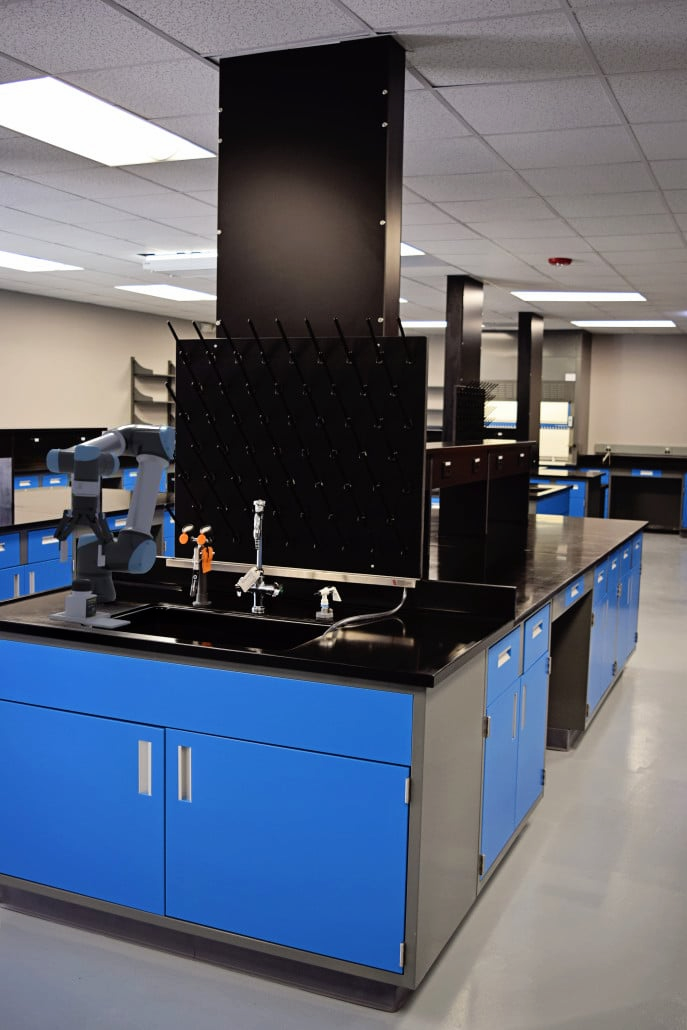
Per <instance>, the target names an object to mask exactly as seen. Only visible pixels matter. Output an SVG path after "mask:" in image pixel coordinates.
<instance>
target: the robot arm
mask: <svg viewBox="0 0 687 1030" xmlns="http://www.w3.org/2000/svg"><path fill="white" fill-rule="evenodd" d="M175 432H176V430H175V429H174V428H173V427H172V426H169V425H163V424H159V425H158V424H140V423H130V424H125V425H121V426H118V427H114V428H112V429H109V430H106V431H105V432H104V433H102V435H101V436H99V437H96V438H92V439H89V440H87V441H85V442H83V443H79V444H76V445H73V446H71V447H69V448H66V449H61V448H58V449H54V448H52V449H51V450H49V452H48V453H47V455H46V466H47V469H48V470H49V472H51V473H59V474H67V475H68V474H69V475H70V474H71V475H72V474H73V483H72V494H74V495H73V496H72V502H71V506H72V509H69V508H68V509H65V508H64V509H63V513H62V517H61V519H60V521H59V523H58V525H57V528H56V529H55V532H54V533H53V536H52V537H53V538H54V539H57V540H58V551H59V552H60V556H59V563H66V562H68V557H69V556H68V555H69V540H68V538H69V536H70V535H71V534H72V533H73V532H74V531H75V529H76V528H77V527H78V526H86V527H89V528H90V529H91V531H92V532H93V533H85V534H81V535H80V536H79V538H78V543H77V548H76V549H77V556H76V557H77V558H76V559H77V561H76V578H75V580H76V579H86V580H90V581H91V582H92V593H91V594H93V595H97V604H98V603H99V604H100V603H111V602H114V601H116V600H115V599H116V595H117V594H116V590H115V586H114V583H113V579H112V572H119V573H120V572H121V573H128V574H129V573H130V574H145V573H147V572H148V571H150V570H151V568H152V567H153V565H154V564H155V562H156V558H157V553H158V551H157V544H156V542H155V541H154V536H153V535H152V534H151V529H152V523H153V520H154V515H155V509H156V505H157V501H158V497H159V491H160V487H161V482H162V478H163V473H164V469H166V468H168V466H169V465H170V461H171V460H175V459H174V457H173V454H174V450H175V445H174V444H176V440H175ZM165 441H166V442H165ZM174 441H175V443H174ZM120 456H125V457H126V456H128V457H129V456H130V457H135V458H136V461H137V462H138V468H137V472H136V477H135V481H134V486H133V490H132V495H131V499H130V502H129V503H130V504H129V508H128V513H127V516H126V517H127V518H126V523H125V526H124V527H123V528H121V529H120V530H119V532H118V536H117V537H114V536H115V535H114V533H113V532H112V531H111V528H110V525H109V524H108V521H107V514H106V512H105V511H103V512H101V511H100V512H97V509H98V502H99V497H98V496H97V495H98V494H99V484H100V483H99V481H100V480H99V479H100V478H99V477H109V476H113V475H115V474H116V473H117V472H118V471H119V468H120V466H121V465H120V460H119V458H118V457H120ZM71 518H72V519H71ZM70 520H71V521H70ZM97 520H98V522H97ZM69 521H70V522H69ZM68 523H69V524H68ZM71 592H72V590H71ZM71 592H70V595H72V593H71ZM110 601H111V602H110Z"/></svg>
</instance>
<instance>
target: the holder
mask: <svg viewBox="0 0 687 1030" xmlns="http://www.w3.org/2000/svg"><path fill="white" fill-rule="evenodd" d="M111 616H112V614H111V612H110V613H108V612H102V611H96V616H93V617H89V618H77V617H70V616H65V611H62V612H56V613H53V614H50V615H49V619H50V620H56V621H63V622H64V621H65V622H69V623H70V622H71V623H79V624H83V622H87V621H91V620H95V619H99V618H109V619H111Z"/></svg>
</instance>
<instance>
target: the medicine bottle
mask: <svg viewBox="0 0 687 1030" xmlns="http://www.w3.org/2000/svg"><path fill="white" fill-rule="evenodd" d="M71 591H72V592H70V594H69V595H66V596H65V599H64V600H65V601H64V602H65V603H64V604H65V605H64V612H65V616H70V617H77V618H89V617H93V616H96V612H97V606H98V605H97V604H98V603H97V595H93V594H91V593H92V582H91V581H90V580H86V579H76V578H75V579H74V580H72V581H71ZM71 593H72V595H71Z"/></svg>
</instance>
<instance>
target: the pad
mask: <svg viewBox="0 0 687 1030" xmlns="http://www.w3.org/2000/svg"><path fill="white" fill-rule="evenodd" d="M82 624H83V625H84V626H85V625H86V626H89V627H90V626H92V627H98V628H105V629H114V628H115V629H116V628H118V627H122V626H126V625H130V624H131V621H130V620H122V619H115V618H99V619H95V620H91V621H87V622H83V623H82Z"/></svg>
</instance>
